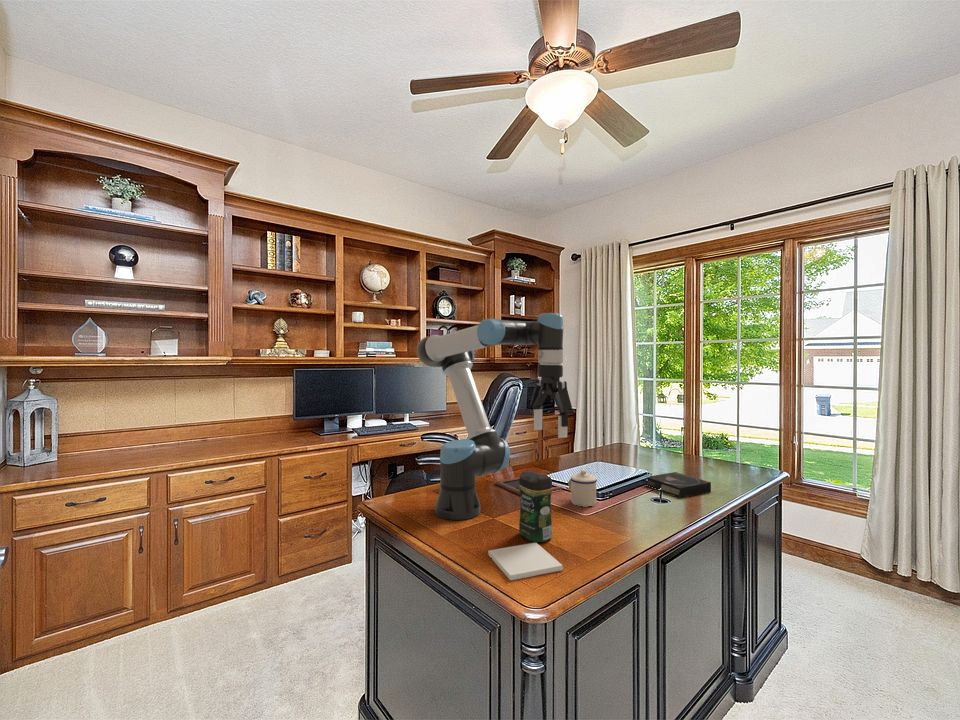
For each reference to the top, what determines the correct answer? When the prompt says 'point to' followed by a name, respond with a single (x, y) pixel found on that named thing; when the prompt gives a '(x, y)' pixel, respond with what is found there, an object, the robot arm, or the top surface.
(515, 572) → the coaster board
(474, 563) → the top surface
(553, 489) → the picture frame
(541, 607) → the top surface
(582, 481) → the teacup with lid
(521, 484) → the coffee jar
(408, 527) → the top surface
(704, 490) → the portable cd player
